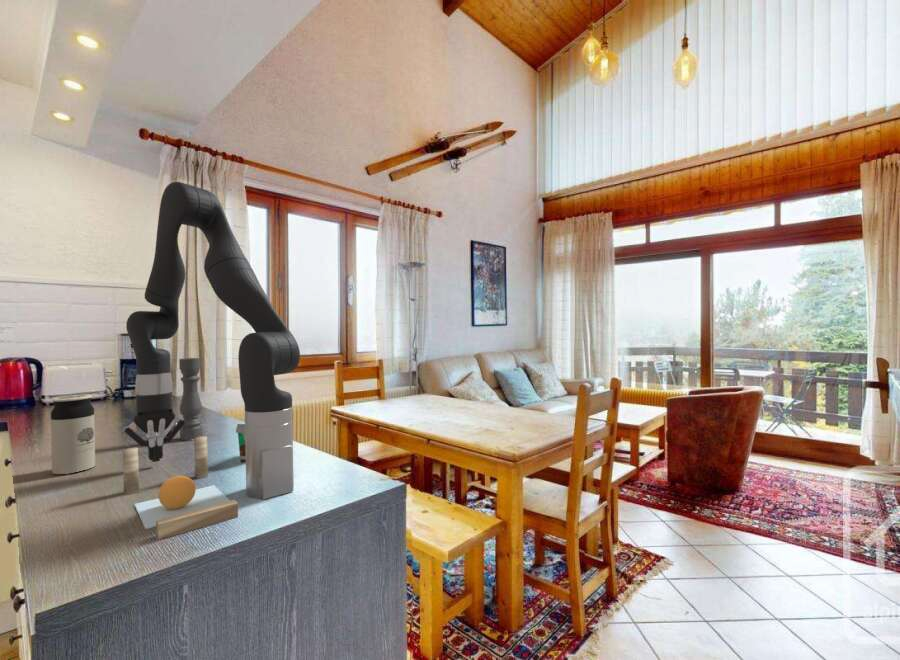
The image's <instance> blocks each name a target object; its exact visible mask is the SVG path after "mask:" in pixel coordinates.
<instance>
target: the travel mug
mask: <svg viewBox="0 0 900 660" xmlns="http://www.w3.org/2000/svg"><path fill="white" fill-rule="evenodd" d="M92 398H93V395H92V394H73V395H64V396H57V397H53V398H51V401H52V402H53V405H54V407H53V409H52V410H51V411H50V433H51V435H50V436H51V438H50V439H51V440H50V441H51V473H52V474H54V475H57V474H66V475H68V474H67V473H74V472H78V473H80V472H79V471H83V470H86V471H88V470H87V469H89V470H90V468H91V469H92V468H94V467H95V466H96V447H95V446H96V440H95V439H96V438H95V437H96V436H95V435H96V434H95V408H94V406H93V405H92V403H91V401H92ZM83 472H84V471H83ZM74 474H75V473H74Z"/></svg>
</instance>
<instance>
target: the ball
mask: <svg viewBox="0 0 900 660" xmlns="http://www.w3.org/2000/svg"><path fill="white" fill-rule="evenodd" d="M196 489H197V488H196V484H195V482H194V480H193V479H191V477H188V476H187V475H175V476H172V477H169V478H168V479H166V480H165V481H164V482H163V484H161V485H160V487H159V491H158V498H159V501H160V503H161V504H162V505H163V506H164V507H166V508H169V509H178V508H181V507H184V506H185V505H187V504H188V503H189V502H190V501H191V500H192V499H193V497H194V495H195V491H196Z"/></svg>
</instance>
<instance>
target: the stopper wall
mask: <svg viewBox="0 0 900 660" xmlns="http://www.w3.org/2000/svg"><path fill="white" fill-rule="evenodd" d="M238 504H239V503H238V502H237V501H236V500H235V499H232V500H230V501H228V502H224V503H221V504H217V505H213V506H209V507H206V508H202V509H198V510H194V511H190V512H187V513H183V514H179V515H175V516H172V517H168V518H164V519H160V520H157V521H156V527H155V530H156V531H155V532H156V538H157V539H158V540H159V541H160V540H163V539H166V538H170V537H174V536H177V535H181V534H183V533H187V532H191V531H194V530H197V529H198V530H199V529H201V528H204V527H209V526H211V525H214V524H217V523H222V522H224V521H229V520H232V519H235V518H239V505H238ZM190 530H191V531H190Z"/></svg>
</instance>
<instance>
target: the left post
mask: <svg viewBox="0 0 900 660" xmlns="http://www.w3.org/2000/svg"><path fill="white" fill-rule="evenodd" d="M139 467H140V465H139V447H137V446H136V447H135V446H134V447H128V448H125V449H123V450H122V470H123V471H122V477H123V494H124V495H131V494H135V493H137V492H139V491H140V475H139V473H140V470H139Z"/></svg>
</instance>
